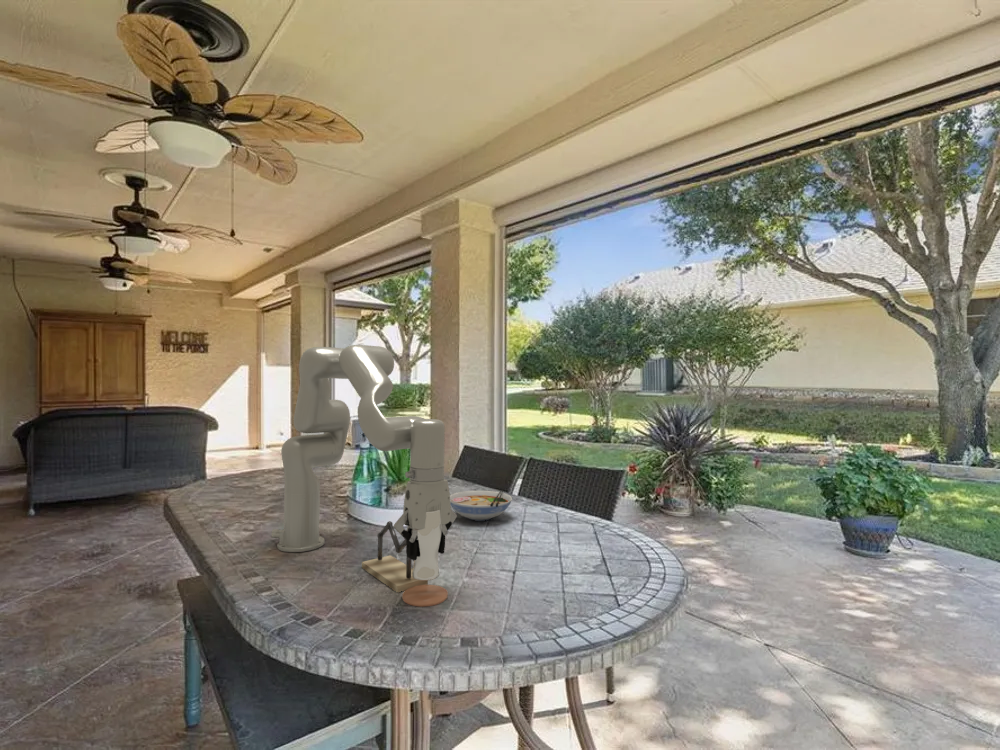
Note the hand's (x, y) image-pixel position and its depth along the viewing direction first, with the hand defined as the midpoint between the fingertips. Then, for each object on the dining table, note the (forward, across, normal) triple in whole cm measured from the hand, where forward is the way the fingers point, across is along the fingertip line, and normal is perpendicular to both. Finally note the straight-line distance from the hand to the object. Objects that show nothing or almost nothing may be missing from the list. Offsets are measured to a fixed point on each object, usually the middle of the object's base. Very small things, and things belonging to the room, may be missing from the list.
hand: (425, 554), depth 111 cm
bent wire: (+8, 0, +15) cm, 17 cm away
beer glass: (+5, 0, 0) cm, 5 cm away
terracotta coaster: (+9, 0, 0) cm, 9 cm away
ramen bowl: (+10, +48, +43) cm, 65 cm away
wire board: (+9, 0, +15) cm, 18 cm away
